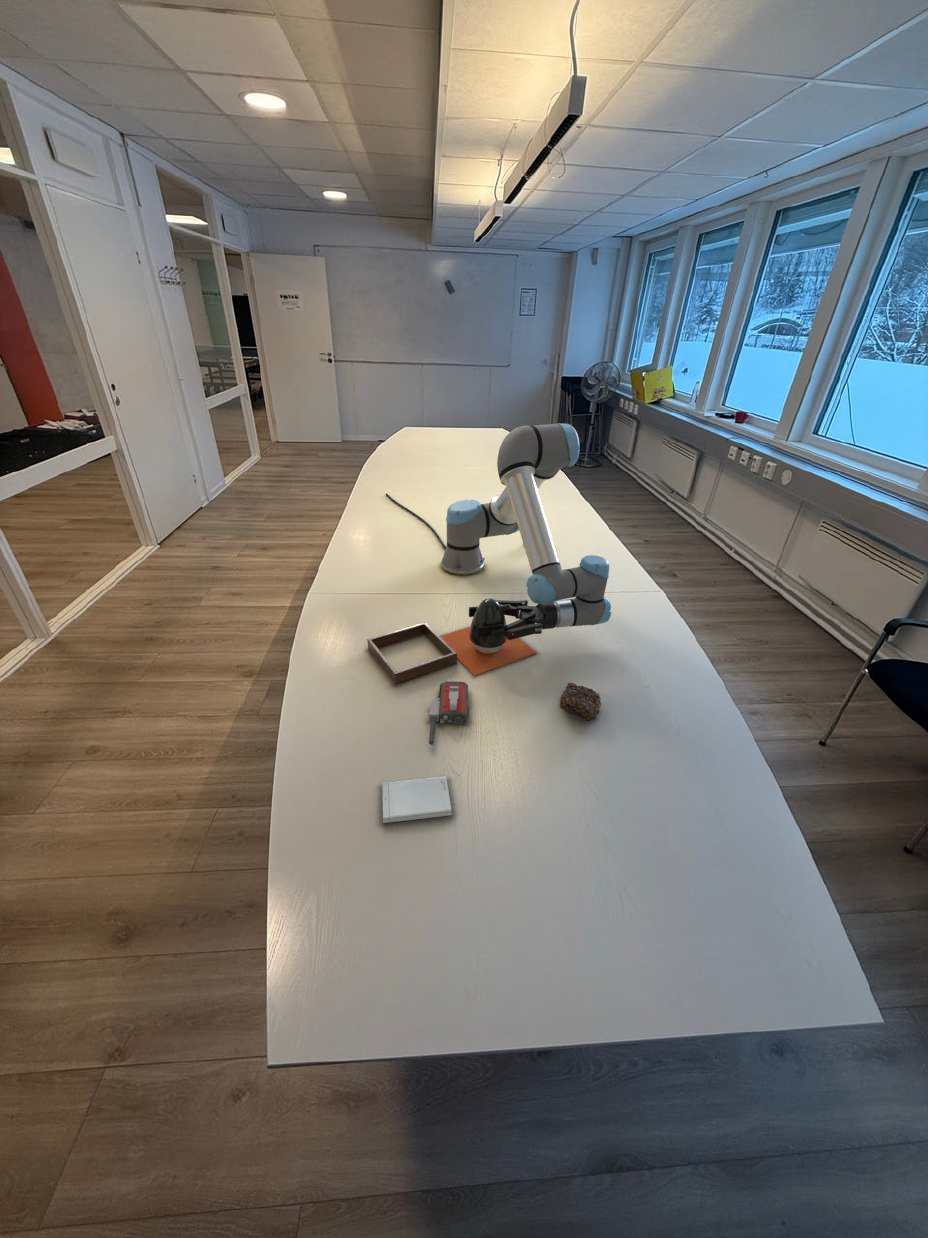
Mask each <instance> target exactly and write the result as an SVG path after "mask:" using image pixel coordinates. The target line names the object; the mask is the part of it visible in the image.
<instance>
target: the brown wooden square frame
mask: <svg viewBox="0 0 928 1238" xmlns="http://www.w3.org/2000/svg"><path fill="white" fill-rule="evenodd" d="M423 635H424V636H425V637H426V638H427V639H428V640H429V641H430V642H431V643H432V644H433V645H434V646H435V647H436V648H437V650H439V651H440V652H441V653H442V654H443V655H442V656H438V657H435V658H433V659H430V660H427V661H424V662H421V663H418V664H415V665H412V666H409V667H406V668H402V669H400V670H396V669H395V667H394V666H393V665H392V664H391V663H390V662H389V660H388V659H387V657H385V655H384V654H383V653H382V652H381V650H380V649H381V648H384V647H388V646H391V645H394V644H397V643H401V642H404V641H407V640H410V639H414V638H417V637H420V636H423ZM440 636H441V635H439V634H438V633H437V632H436V631H435V630H434V629H433V628H432V627H431V626H430V625H429V624H428V623H427V622H425V621H424V622H421V623H418V624H414V625H411V626H408V627H404V628H401V629H397V630H394V631H391V632H387V633H384V634H380V635H377V636H375V637H374V636H373V637H371V638H367V641H366V642H367V650H368V652H369V653H370V655H372V657H373V658H374V659H375V660H376V662H377V663H378V665H379V666H380V667H381V668H382V670H383V671H384V672H385V674H386V675H387V676H388V677H389V679H390V680H391V681H392V683H393V684H394V685H395V686H398V685H402V684H405V683H406V682H410V681H412V680H415V679H419V678H421V677H424V676H427V675H429V674H433V673H435V672H438V671H441V670H445V669H448V668H450V667H452V666H456V665H458V659H457V653H456V652H455V651H454V650H453V649H452V648H451V647H450V646H449V645H448V644H447V643H446V642H445V641H444V640H443V639H442V638H441V637H440Z"/></svg>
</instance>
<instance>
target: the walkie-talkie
mask: <svg viewBox="0 0 928 1238" xmlns="http://www.w3.org/2000/svg"><path fill="white" fill-rule="evenodd" d="M468 698H469V684H467V682H465V681H453V680H452V681H451V680H450V681H448V680H445V681H443V682H441V683H440V684H439V691H438V696H437V697H436V698H435V699H434V700H433V701H431V702H430V708H429V712H428V721H430V727H429V728H430V729H429V737H428V744H429V745H431V746H432V745H434V743H435V734H436V723H437V722H438V723H440V724H442V725H443V724H455V725H462V724H467V723H468V719H469V705H468V703H469V699H468Z"/></svg>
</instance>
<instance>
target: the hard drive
mask: <svg viewBox="0 0 928 1238" xmlns="http://www.w3.org/2000/svg"><path fill="white" fill-rule="evenodd" d="M381 787H382V791H381V792H382V823H383V824H387V823H388V824H389V823H395V822H405V821H413V820H423V819H430V818H441V817H447V816H452V812H453V811H452V804H451V797H450V791H449V785H448V779H447V776H446V775H445V776H437V777H427V778H417V779H406V780H398V781H397V780H396V781H389V782H382V785H381Z"/></svg>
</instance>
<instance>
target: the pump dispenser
mask: <svg viewBox="0 0 928 1238" xmlns="http://www.w3.org/2000/svg"><path fill="white" fill-rule="evenodd" d="M496 600H497V599H494V598H489V597H487V598H484V599H483V600H482V601H481V602H480V603H479V604H478V606H477V607H478V608H477V610H476V612H475V614H474V616H473V617H472V619H471V623H470V626H469V627H470V633H469V637H470V640H471V642H472V645H473V646H474V648H475V649H476V650H478V651H479V652H482V653H486V654H491V653H495V652H497V651H499V650H500V649H501V648H502V647H503V645H504V643H505V642H506V640H507V637H506V636H503V635H499V636H483V637H477V627H478V626H489V625H500V624H502V626H503V625H504V624H505V625H507V620H506V615H504V613H503V610H506V609H509V608H510V605H509V604H507V605H501V606H500V604H499V603H498V602H497V601H496Z"/></svg>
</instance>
